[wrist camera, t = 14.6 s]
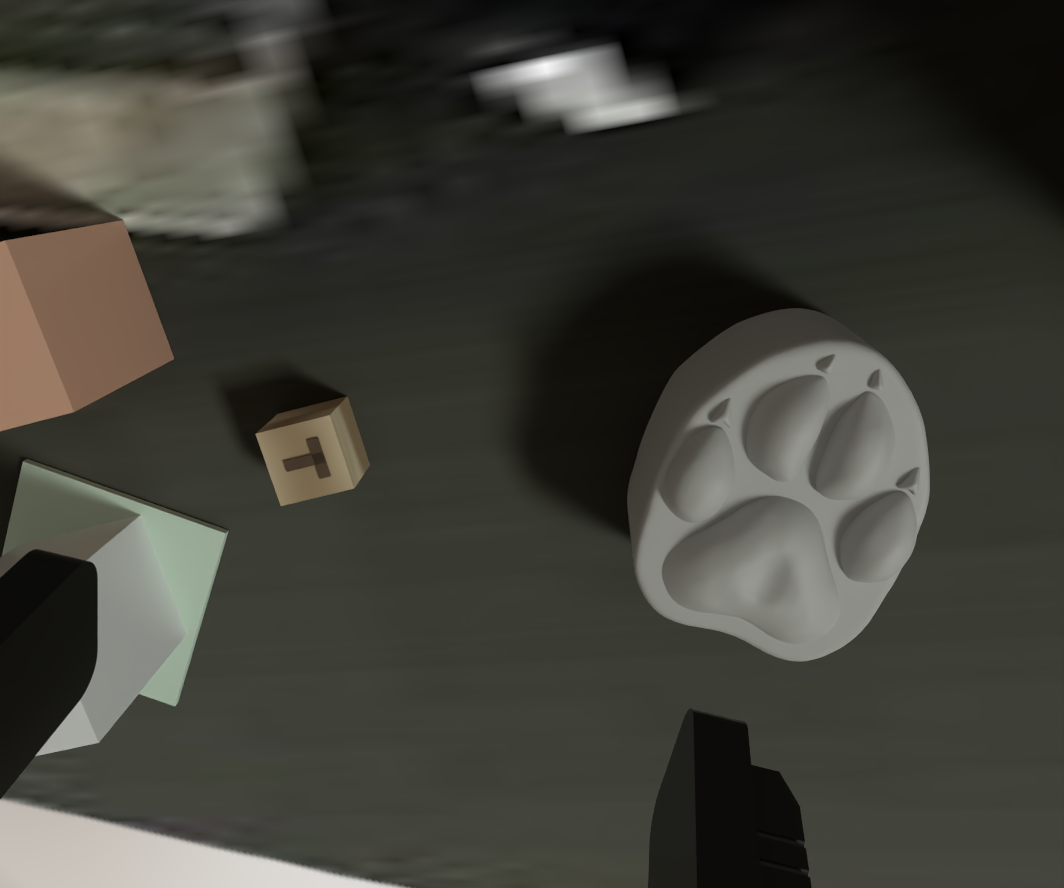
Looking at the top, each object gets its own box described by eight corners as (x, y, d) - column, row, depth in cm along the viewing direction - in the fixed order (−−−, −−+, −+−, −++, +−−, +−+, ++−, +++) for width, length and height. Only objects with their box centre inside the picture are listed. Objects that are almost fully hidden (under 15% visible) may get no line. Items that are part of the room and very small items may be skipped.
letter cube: (347, 395, 46) (329, 415, 43) (370, 464, 47) (353, 489, 44) (278, 413, 47) (254, 434, 43) (301, 480, 48) (280, 506, 44)
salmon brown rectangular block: (123, 220, 44) (5, 240, 35) (174, 358, 46) (73, 412, 37) (-9, 257, 45) (-156, 286, 36) (47, 392, 47) (-82, 452, 38)
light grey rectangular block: (140, 514, 48) (37, 601, 39) (187, 633, 50) (98, 742, 41) (18, 544, 49) (-110, 635, 40) (68, 660, 51) (-44, 772, 42)
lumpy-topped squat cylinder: (603, 534, 48) (606, 617, 39) (709, 271, 44) (736, 302, 36) (808, 605, 48) (854, 702, 40) (930, 352, 44) (1009, 401, 36)
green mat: (228, 530, 48) (225, 533, 48) (178, 702, 51) (174, 706, 51) (27, 458, 48) (22, 461, 48) (-13, 636, 51) (-18, 639, 50)
